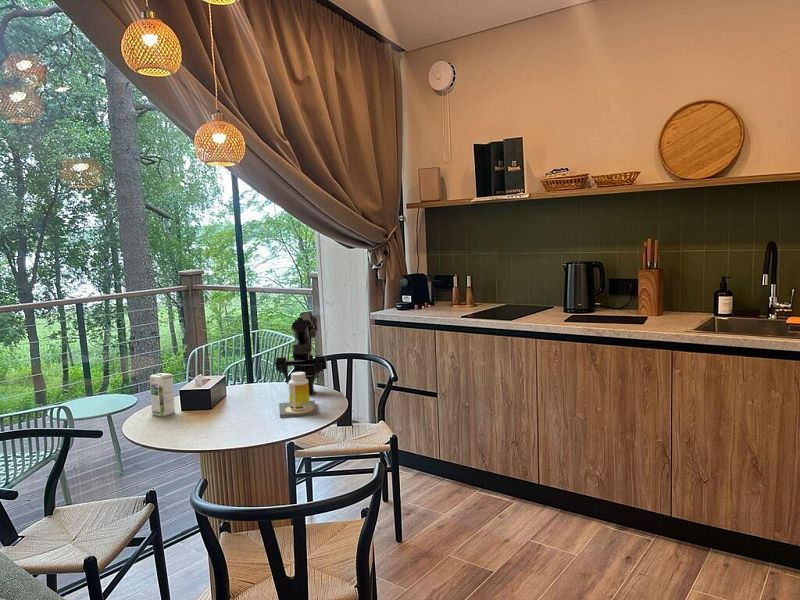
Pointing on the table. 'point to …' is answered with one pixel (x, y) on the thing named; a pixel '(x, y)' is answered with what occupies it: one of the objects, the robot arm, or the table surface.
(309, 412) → the plate
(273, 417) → the table surface
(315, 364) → the robot arm
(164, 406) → the syrup box
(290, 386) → the supplement bottle
